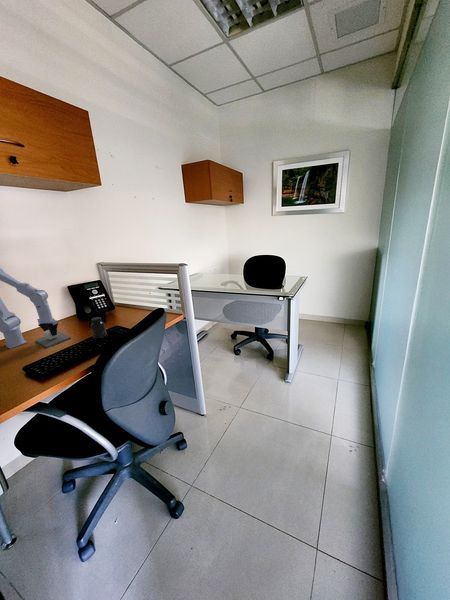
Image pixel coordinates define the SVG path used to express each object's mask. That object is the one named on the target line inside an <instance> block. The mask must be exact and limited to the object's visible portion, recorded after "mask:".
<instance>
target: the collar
mask: <svg viewBox="0 0 450 600" xmlns="http://www.w3.org/2000/svg"><path fill="white" fill-rule="evenodd" d="M59 332H60V331H59V329H58V328H57V335H55V336H52V335H51V333H50V331H49V330H47V331H43V332H42V333H43V337H45V338H46V339H50V340H51V339H53V338H55V337H58V336H60V335H59Z"/></svg>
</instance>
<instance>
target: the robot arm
mask: <svg viewBox="0 0 450 600" xmlns="http://www.w3.org/2000/svg"><path fill="white" fill-rule="evenodd" d="M0 282H3V283H4V284H7V285H8V286H10V287H13V288H16V292H17V293H20V294H21V295H24V296H25V297H27V298H29V301H30V302H31V303H32V304H33V306H34V307H35V310H36V312H37V315H38V318H37V323H38V325H37V326H38V327H40V328H41V329H42V330H43V332H44V331H47V330H49V331H50V333H51V335H52V336H55V335H57V329H58V325H59V322H58V321H57V320H56V319H55V318H53V315H52V312H51V308H50V306H49V302H48V299H49V294H48V292H46V291H45V290H44V289H38V288H37V287H34V286H33V285H30V283H29V282H21V281H19V280H18V279H16V278H15V277H13V276H11V275H10V274H8V273H6V271H4V269H3V268H1V267H0ZM21 322H22V320H21V319H20V318H19V316H17V315H16V313H14V312H12V311H10V310H9V308H7V305H5V303H4V301H3V299H2V298H1V297H0V332H1V333H2V334H3V336H4V340H5V342H6V343H4V345H5V346H6V347H7V348H9V349H14V348H15V347H18V346H21V345H23V344H24V345H25V344H28V341H27V340H26V339H24V336H23V334H22V331H21V328H20V327H21V326H20V325H21Z"/></svg>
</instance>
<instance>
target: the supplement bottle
mask: <svg viewBox="0 0 450 600" xmlns="http://www.w3.org/2000/svg"><path fill="white" fill-rule="evenodd" d="M90 322H91V324H90V330H91V333H92V337H93V339H94V338H95V339H97V338H103V337H105V336H106V335H107V334H108V333H107V329H106V324H105V322H104V321H102V318H101V317H100V316H96V317H93V318H91V320H90ZM107 336H108V335H107Z"/></svg>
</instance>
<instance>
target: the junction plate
mask: <svg viewBox="0 0 450 600" xmlns="http://www.w3.org/2000/svg"><path fill="white" fill-rule="evenodd" d="M58 332H59V335H60V336H58V337H55V338H53V339H51V340H50V339H46V338H45V336H43V337H39V338H37V339H35V342H36V343H38V344H40V345H41V346H43V347H44V348H46V349H49V348H52V347H54V346H56V345H59V344H61V343H63V342H66V341H69V340H71V336H69V335H67V334H64V333H63V332H61V331H58Z"/></svg>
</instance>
